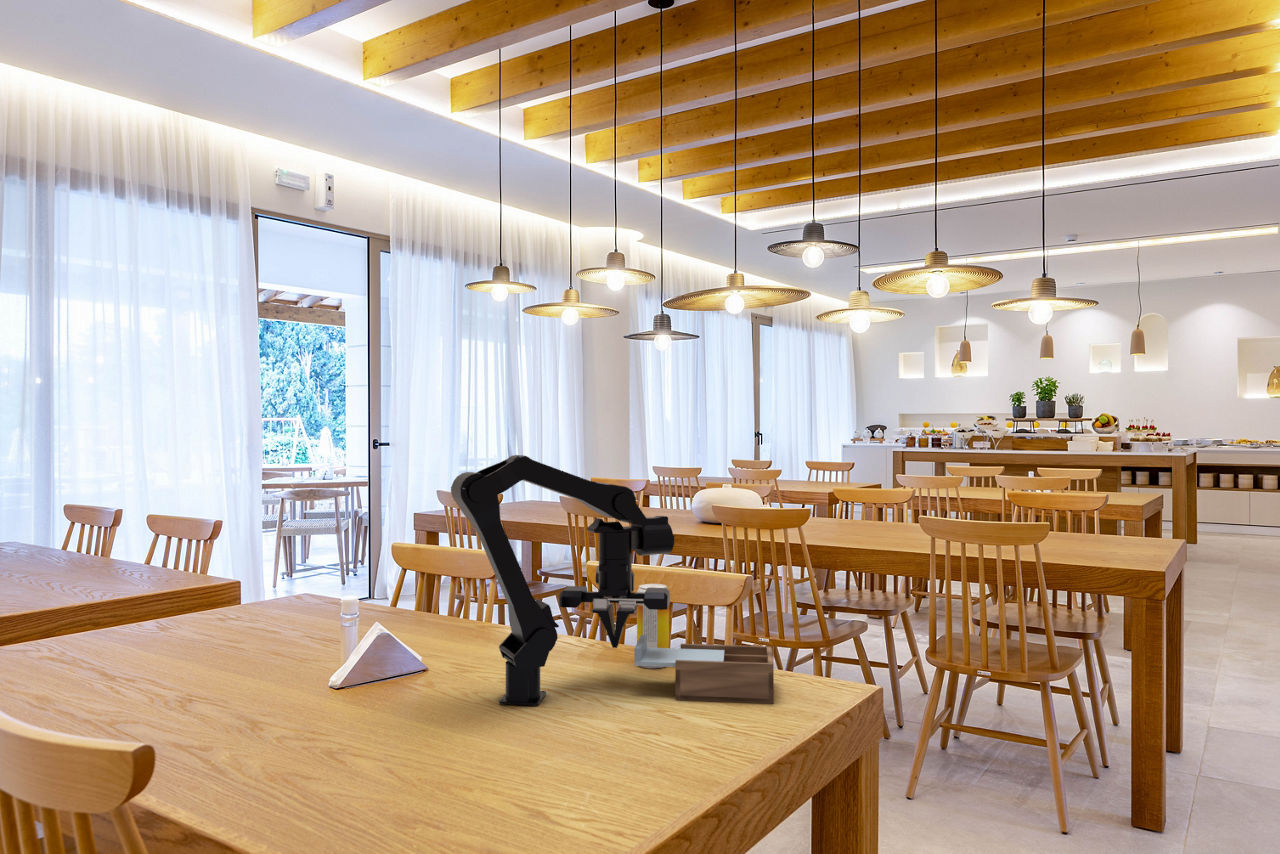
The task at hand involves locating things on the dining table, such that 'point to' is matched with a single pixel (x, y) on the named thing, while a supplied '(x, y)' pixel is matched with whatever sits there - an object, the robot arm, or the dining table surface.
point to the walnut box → (727, 675)
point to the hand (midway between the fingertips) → (615, 647)
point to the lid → (671, 655)
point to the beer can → (653, 623)
